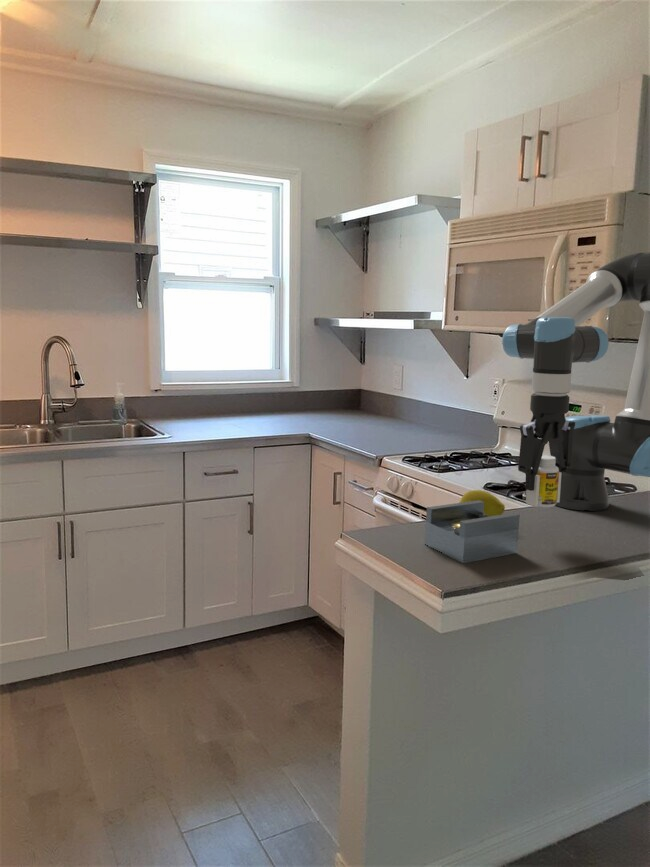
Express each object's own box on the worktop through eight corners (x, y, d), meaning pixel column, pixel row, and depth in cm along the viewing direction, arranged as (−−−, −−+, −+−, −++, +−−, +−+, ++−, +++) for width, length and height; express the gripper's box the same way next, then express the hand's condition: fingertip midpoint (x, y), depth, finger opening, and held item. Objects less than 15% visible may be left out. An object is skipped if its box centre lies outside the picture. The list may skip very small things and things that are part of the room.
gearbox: (476, 535, 147) (479, 500, 145) (516, 553, 136) (519, 514, 135) (424, 544, 140) (426, 507, 139) (462, 563, 130) (465, 523, 128)
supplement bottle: (544, 509, 139) (547, 461, 137) (523, 503, 143) (525, 456, 141) (562, 505, 142) (565, 457, 140) (540, 499, 146) (543, 453, 144)
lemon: (449, 522, 156) (451, 489, 155) (468, 516, 161) (471, 484, 160) (489, 534, 148) (492, 498, 147) (508, 527, 154) (511, 493, 152)
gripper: (567, 389, 146) (560, 493, 150) (503, 393, 137) (496, 504, 141) (596, 393, 139) (587, 501, 143) (530, 398, 130) (523, 513, 135)
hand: (542, 502), depth 142 cm, fingers closed on supplement bottle, 6 cm apart
